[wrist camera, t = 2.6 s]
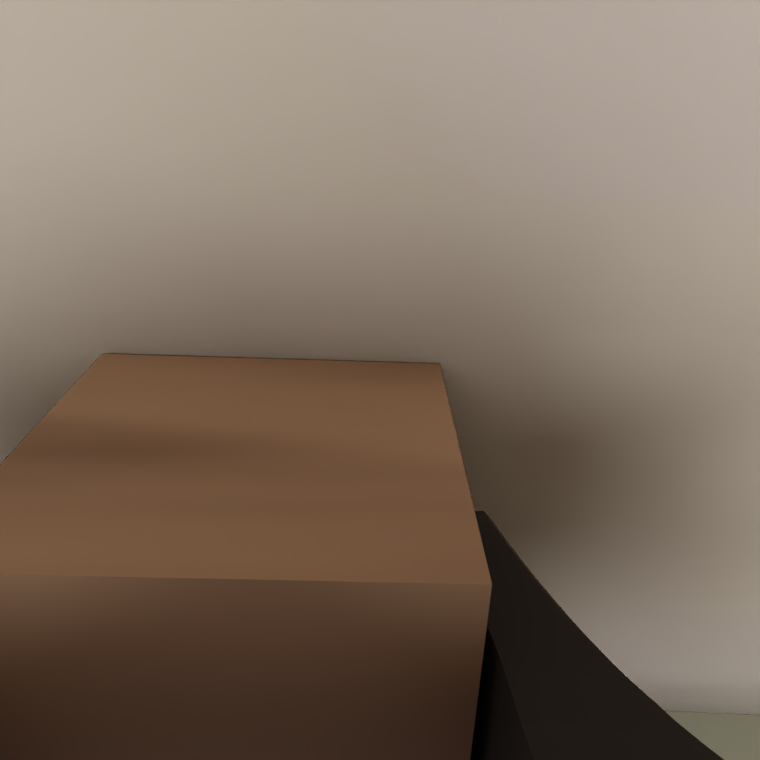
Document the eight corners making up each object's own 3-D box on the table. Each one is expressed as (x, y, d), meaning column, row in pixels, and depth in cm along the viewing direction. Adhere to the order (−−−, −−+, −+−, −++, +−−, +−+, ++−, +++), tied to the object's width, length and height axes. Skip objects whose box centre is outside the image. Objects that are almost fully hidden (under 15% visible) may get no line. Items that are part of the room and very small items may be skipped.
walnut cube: (420, 624, 13) (448, 936, 8) (135, 618, 13) (3, 932, 8) (440, 363, 11) (492, 584, 6) (101, 353, 11) (-99, 571, 6)
